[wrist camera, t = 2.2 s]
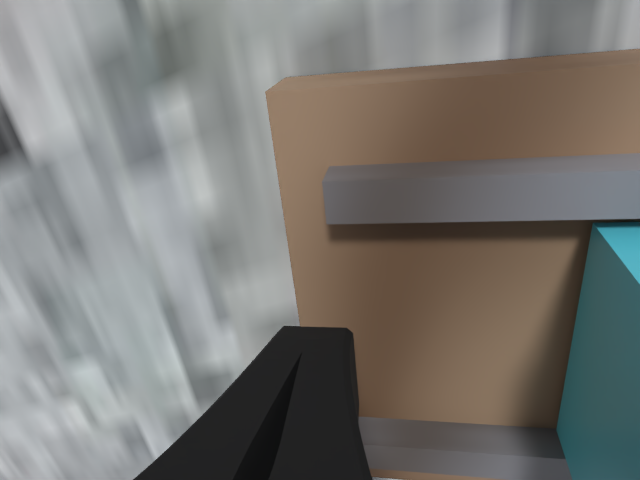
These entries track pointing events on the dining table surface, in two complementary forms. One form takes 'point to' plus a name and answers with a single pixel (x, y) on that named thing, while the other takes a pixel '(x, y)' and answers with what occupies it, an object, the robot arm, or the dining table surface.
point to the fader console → (456, 243)
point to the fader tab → (605, 361)
